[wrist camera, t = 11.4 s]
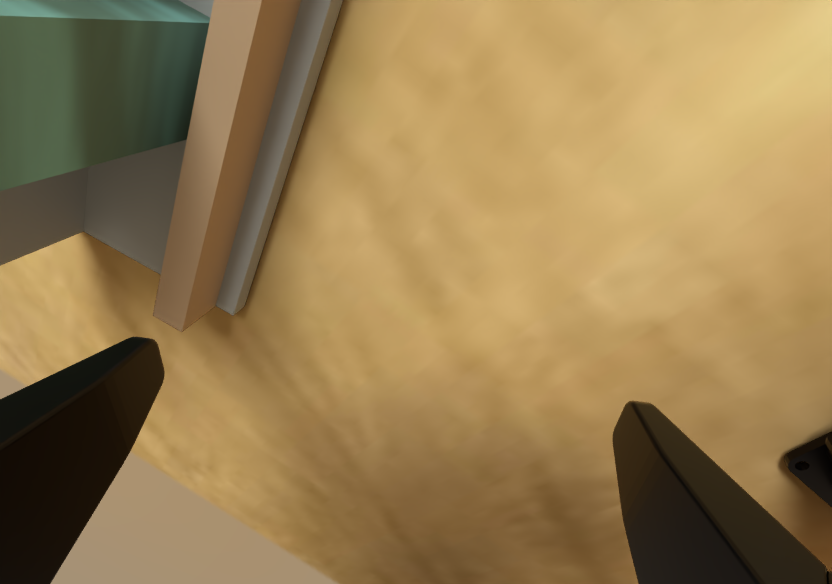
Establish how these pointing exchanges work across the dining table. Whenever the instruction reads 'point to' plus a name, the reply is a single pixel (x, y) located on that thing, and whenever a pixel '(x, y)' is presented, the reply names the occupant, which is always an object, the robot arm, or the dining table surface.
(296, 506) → the dining table surface
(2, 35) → the teal block
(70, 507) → the robot arm
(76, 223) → the grey bookend
